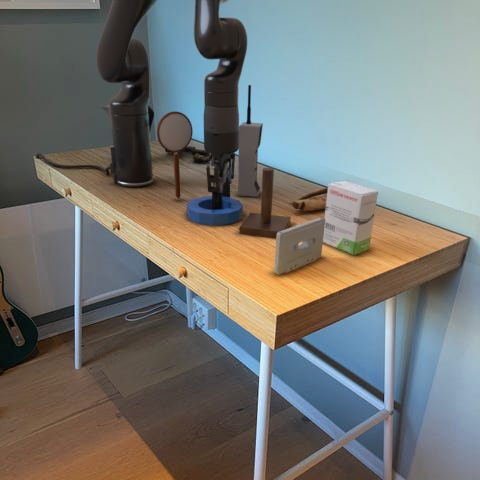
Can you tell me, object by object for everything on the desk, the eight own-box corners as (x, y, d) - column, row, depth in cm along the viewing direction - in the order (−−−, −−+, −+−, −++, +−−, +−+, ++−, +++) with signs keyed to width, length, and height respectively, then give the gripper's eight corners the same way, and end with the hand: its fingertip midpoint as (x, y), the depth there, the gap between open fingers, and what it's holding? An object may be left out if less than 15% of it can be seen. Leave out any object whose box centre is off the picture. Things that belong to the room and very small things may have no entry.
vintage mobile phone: (257, 197, 121) (261, 86, 108) (237, 196, 122) (239, 85, 109) (260, 193, 125) (264, 84, 111) (240, 191, 125) (242, 83, 112)
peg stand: (239, 233, 102) (240, 172, 95) (250, 218, 109) (251, 161, 102) (282, 238, 100) (286, 177, 93) (290, 223, 107) (294, 165, 100)
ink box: (369, 249, 96) (380, 190, 90) (353, 256, 93) (362, 195, 87) (336, 236, 101) (344, 179, 95) (320, 241, 99) (326, 183, 93)
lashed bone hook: (334, 196, 125) (276, 206, 116) (336, 178, 122) (278, 186, 114) (360, 206, 118) (301, 217, 109) (363, 186, 116) (303, 196, 107)
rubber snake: (215, 145, 146) (184, 151, 142) (216, 161, 148) (186, 167, 144) (189, 135, 159) (160, 141, 155) (191, 150, 162) (163, 156, 158)
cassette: (279, 276, 85) (282, 235, 81) (271, 272, 86) (274, 231, 82) (323, 257, 92) (328, 218, 88) (315, 254, 93) (320, 215, 89)
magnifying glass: (163, 204, 116) (157, 113, 105) (160, 202, 117) (154, 112, 106) (195, 198, 120) (193, 110, 109) (192, 196, 121) (189, 109, 110)
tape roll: (180, 221, 107) (179, 210, 105) (198, 204, 116) (198, 193, 115) (233, 228, 104) (233, 216, 103) (247, 209, 114) (247, 198, 112)
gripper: (214, 120, 111) (215, 193, 120) (193, 132, 100) (195, 213, 109) (246, 122, 110) (245, 196, 119) (228, 135, 98) (228, 216, 107)
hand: (221, 204), depth 114 cm, fingers open, 5 cm apart
